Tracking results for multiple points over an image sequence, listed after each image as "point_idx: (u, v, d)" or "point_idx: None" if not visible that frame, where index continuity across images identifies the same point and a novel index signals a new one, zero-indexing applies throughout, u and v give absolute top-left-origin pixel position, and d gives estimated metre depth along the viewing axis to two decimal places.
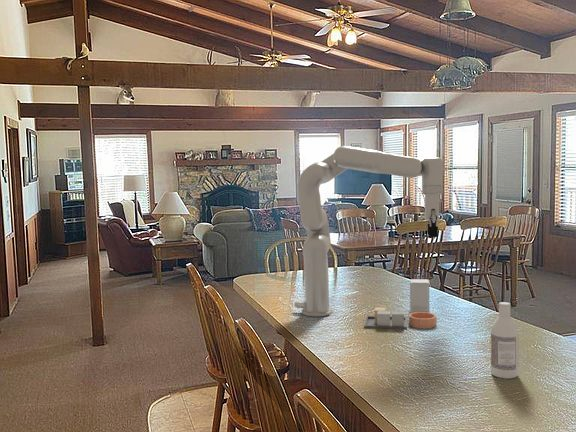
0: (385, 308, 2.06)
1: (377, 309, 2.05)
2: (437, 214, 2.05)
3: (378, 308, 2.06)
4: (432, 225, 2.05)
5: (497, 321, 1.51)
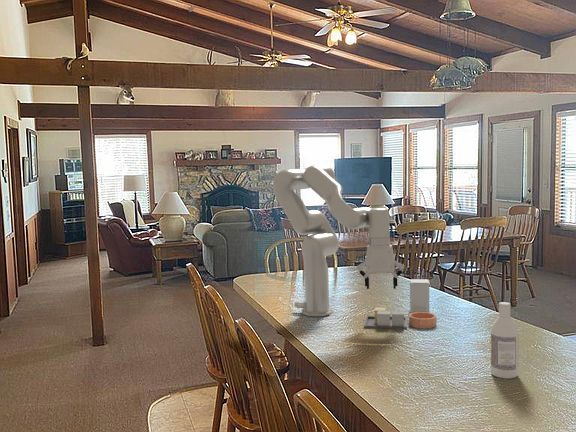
0: (385, 308, 2.06)
1: (377, 309, 2.05)
2: None
3: (378, 308, 2.06)
4: None
5: (497, 321, 1.51)
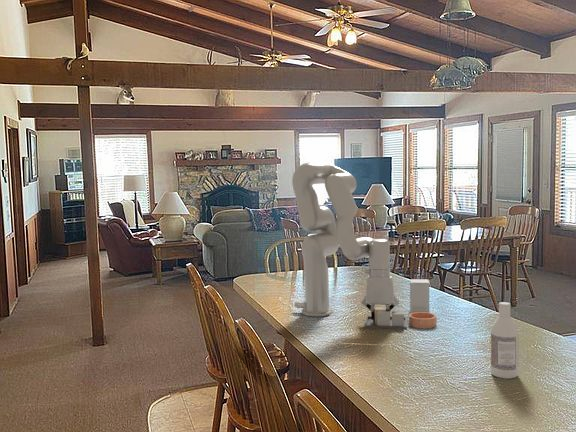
0: (385, 308, 2.06)
1: (377, 309, 2.05)
2: None
3: (378, 308, 2.06)
4: None
5: (497, 321, 1.51)
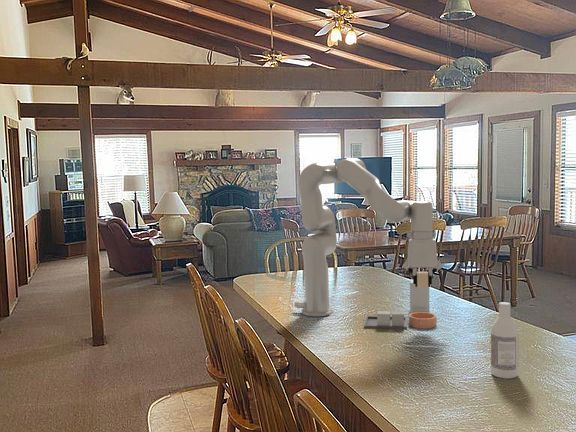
0: (427, 272, 2.01)
1: (419, 273, 2.00)
2: None
3: (420, 272, 2.01)
4: None
5: (497, 321, 1.51)
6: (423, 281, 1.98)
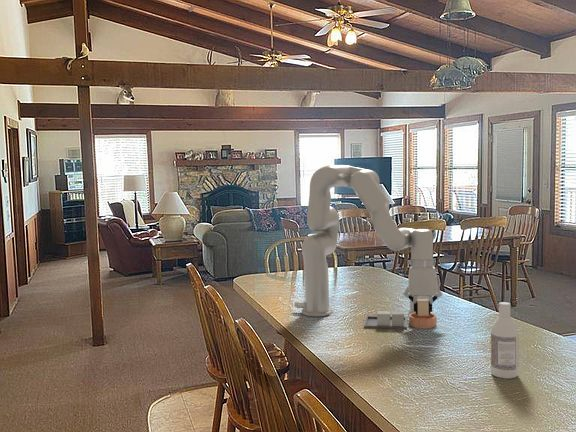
0: None
1: (420, 300, 2.00)
2: None
3: (420, 300, 2.02)
4: None
5: (497, 321, 1.51)
6: (424, 309, 1.99)
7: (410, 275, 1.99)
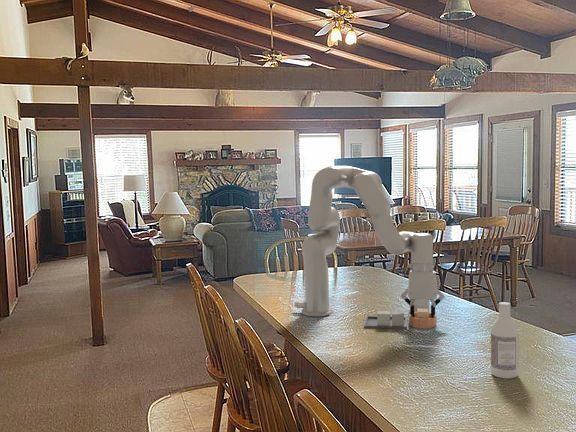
0: (427, 309, 2.02)
1: (420, 310, 2.01)
2: None
3: (420, 309, 2.02)
4: None
5: (497, 321, 1.51)
6: None
7: (410, 279, 1.99)
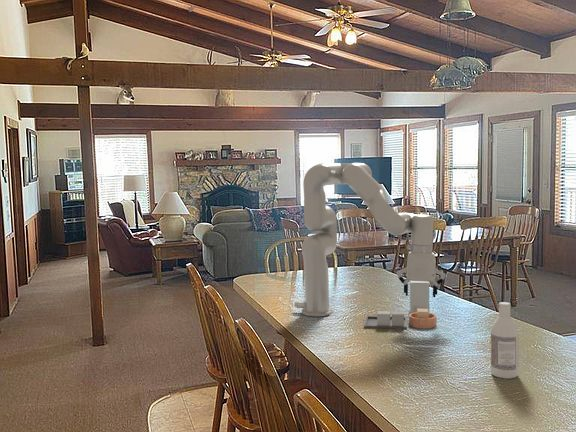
0: (427, 309, 2.02)
1: (420, 310, 2.01)
2: None
3: (420, 309, 2.02)
4: None
5: (497, 321, 1.51)
6: None
7: (409, 260, 1.98)
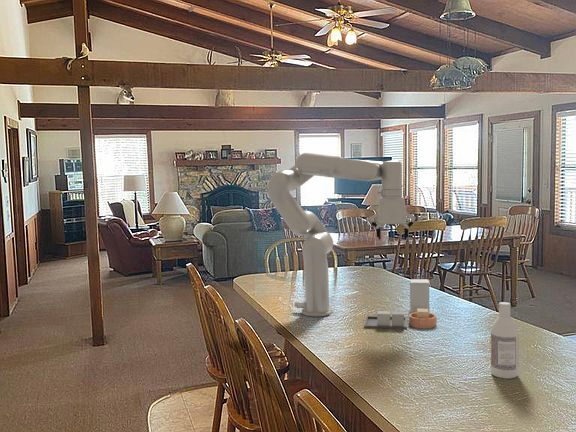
0: (427, 309, 2.02)
1: (420, 310, 2.01)
2: None
3: (420, 309, 2.02)
4: None
5: (497, 321, 1.51)
6: None
7: (380, 204, 2.08)
